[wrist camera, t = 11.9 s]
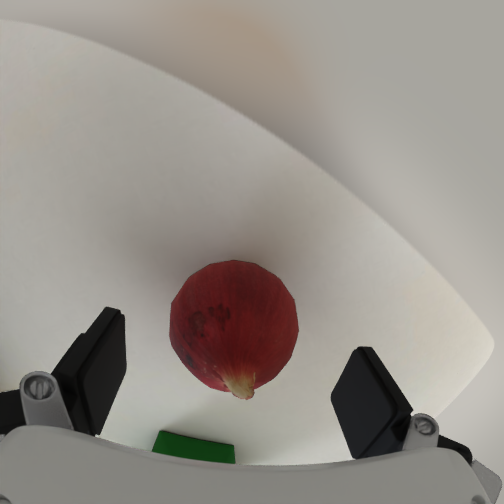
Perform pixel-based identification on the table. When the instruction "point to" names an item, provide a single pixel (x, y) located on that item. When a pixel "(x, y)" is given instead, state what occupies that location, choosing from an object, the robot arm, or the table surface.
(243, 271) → the onion
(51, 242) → the table surface
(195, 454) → the milk carton
